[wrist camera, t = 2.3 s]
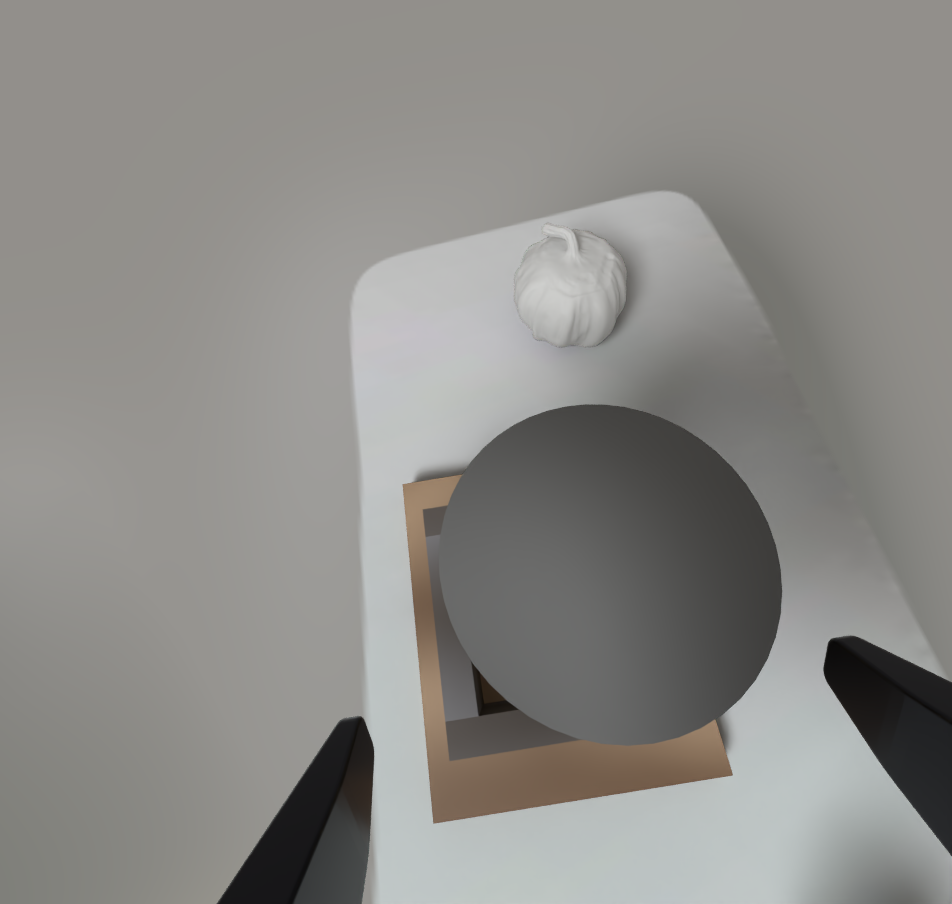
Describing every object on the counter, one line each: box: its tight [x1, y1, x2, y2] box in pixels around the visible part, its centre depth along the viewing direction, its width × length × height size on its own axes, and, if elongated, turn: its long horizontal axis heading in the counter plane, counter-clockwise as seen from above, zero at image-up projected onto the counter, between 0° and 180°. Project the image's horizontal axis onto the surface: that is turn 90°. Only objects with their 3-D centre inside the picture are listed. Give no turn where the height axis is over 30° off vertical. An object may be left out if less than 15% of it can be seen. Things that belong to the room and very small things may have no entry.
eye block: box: [403, 474, 733, 824], centre depth 16 cm, size 12×10×4 cm
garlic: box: [514, 223, 627, 347], centre depth 21 cm, size 6×5×5 cm
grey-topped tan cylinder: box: [439, 405, 782, 746], centre depth 12 cm, size 5×5×12 cm
